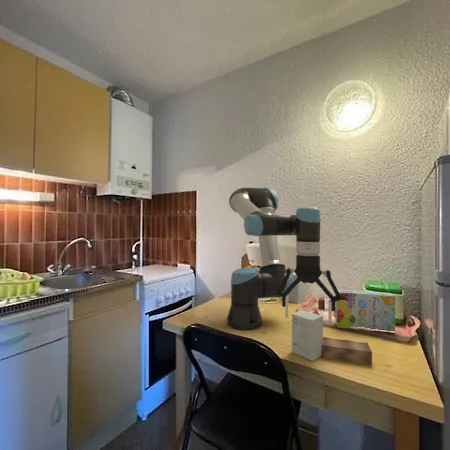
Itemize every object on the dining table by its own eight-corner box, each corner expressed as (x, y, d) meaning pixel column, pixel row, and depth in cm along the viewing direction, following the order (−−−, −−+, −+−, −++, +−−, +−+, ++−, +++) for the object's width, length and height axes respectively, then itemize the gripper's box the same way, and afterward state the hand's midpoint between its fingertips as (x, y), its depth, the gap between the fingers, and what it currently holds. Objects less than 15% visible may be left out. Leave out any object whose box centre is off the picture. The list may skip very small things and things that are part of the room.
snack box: (390, 329, 108) (391, 292, 108) (395, 334, 103) (395, 296, 102) (335, 323, 114) (335, 288, 114) (336, 328, 109) (337, 291, 108)
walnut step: (323, 357, 85) (323, 344, 85) (322, 348, 91) (322, 336, 91) (371, 364, 81) (372, 351, 81) (367, 355, 86) (367, 342, 86)
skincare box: (295, 298, 151) (295, 271, 151) (305, 300, 146) (306, 272, 146) (287, 301, 145) (287, 273, 144) (298, 303, 140) (298, 274, 140)
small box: (323, 355, 86) (323, 316, 86) (312, 361, 82) (312, 320, 82) (302, 346, 93) (302, 309, 92) (291, 351, 89) (291, 313, 88)
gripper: (268, 254, 87) (268, 318, 87) (351, 257, 80) (351, 327, 80) (271, 252, 94) (271, 311, 94) (347, 254, 87) (347, 318, 87)
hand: (307, 318), depth 87 cm, fingers open, 13 cm apart
